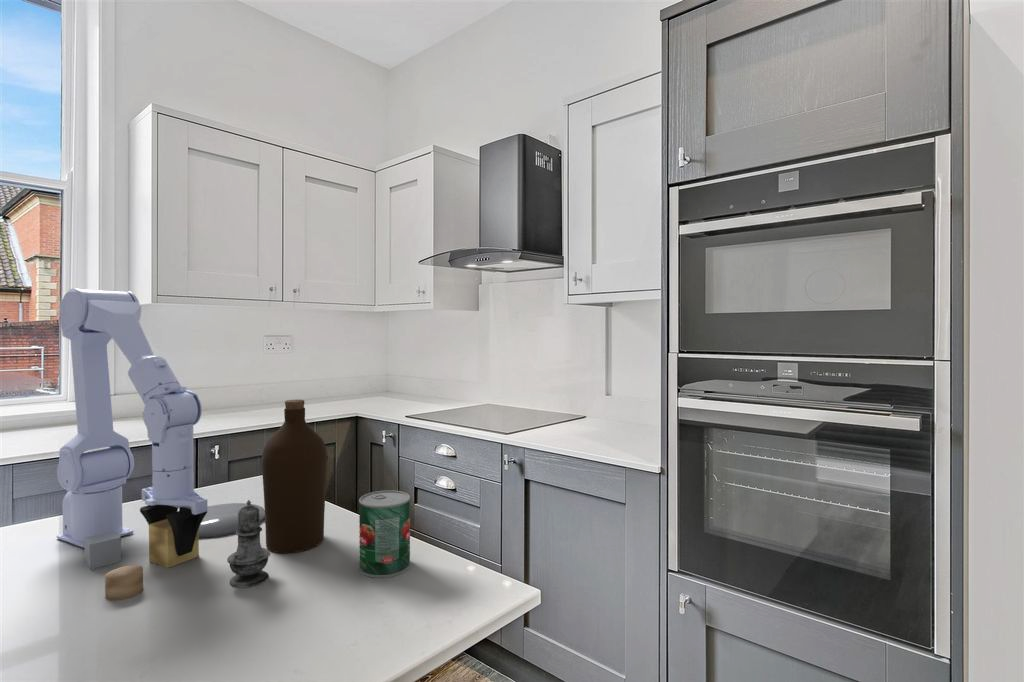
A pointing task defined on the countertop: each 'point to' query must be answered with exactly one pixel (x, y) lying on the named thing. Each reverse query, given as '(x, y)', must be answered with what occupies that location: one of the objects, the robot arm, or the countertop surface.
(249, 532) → the salt shaker
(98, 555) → the slate grey block
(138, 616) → the countertop surface
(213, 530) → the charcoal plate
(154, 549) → the ochre block
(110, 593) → the oak cylinder
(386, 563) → the canned tomato
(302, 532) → the olive oil
